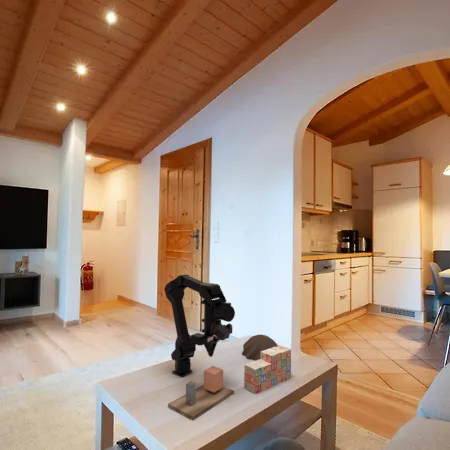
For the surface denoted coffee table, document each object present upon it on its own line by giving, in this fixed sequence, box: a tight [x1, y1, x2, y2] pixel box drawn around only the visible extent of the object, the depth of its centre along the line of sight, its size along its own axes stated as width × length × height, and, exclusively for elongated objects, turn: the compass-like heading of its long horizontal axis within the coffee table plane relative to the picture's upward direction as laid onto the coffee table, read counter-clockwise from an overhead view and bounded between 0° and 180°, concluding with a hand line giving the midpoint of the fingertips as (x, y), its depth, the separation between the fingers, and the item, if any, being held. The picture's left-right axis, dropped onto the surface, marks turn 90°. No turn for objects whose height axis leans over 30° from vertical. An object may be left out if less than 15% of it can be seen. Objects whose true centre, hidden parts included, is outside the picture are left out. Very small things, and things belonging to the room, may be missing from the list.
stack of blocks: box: [243, 345, 292, 394], centre depth 126 cm, size 21×6×12 cm, turn 129°
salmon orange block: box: [203, 365, 224, 392], centre depth 117 cm, size 5×5×7 cm
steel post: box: [185, 380, 197, 406], centre depth 108 cm, size 2×2×8 cm
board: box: [167, 383, 235, 421], centre depth 112 cm, size 12×22×1 cm, turn 141°
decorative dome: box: [241, 334, 279, 361], centre depth 156 cm, size 19×20×10 cm
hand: (210, 356), depth 122 cm, fingers closed
